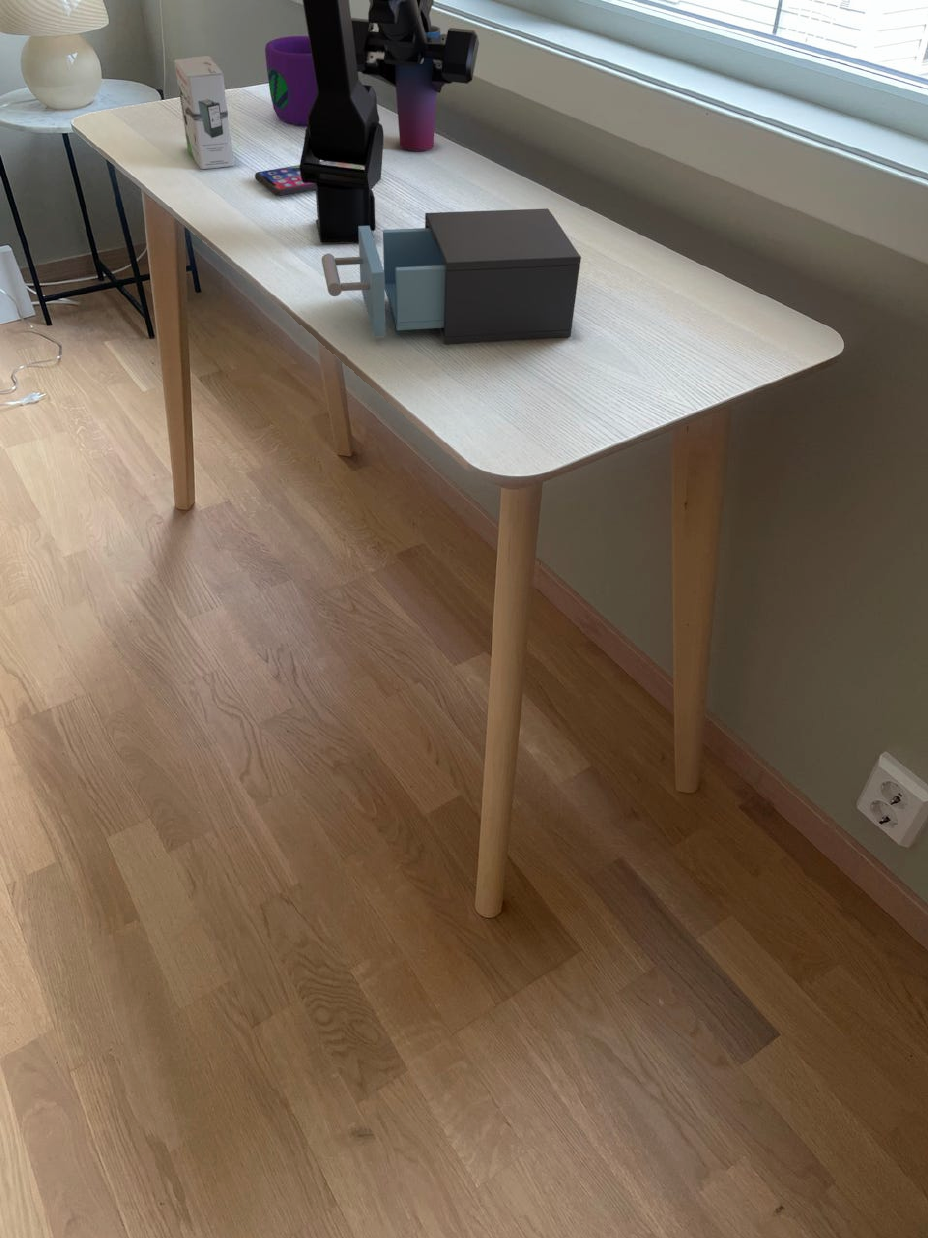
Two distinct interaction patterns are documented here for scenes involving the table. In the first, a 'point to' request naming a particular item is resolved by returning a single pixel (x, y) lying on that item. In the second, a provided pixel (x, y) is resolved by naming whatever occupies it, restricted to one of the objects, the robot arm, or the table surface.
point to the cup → (416, 102)
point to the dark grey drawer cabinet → (505, 275)
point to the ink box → (204, 112)
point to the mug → (291, 78)
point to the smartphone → (292, 179)
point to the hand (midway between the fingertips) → (418, 86)
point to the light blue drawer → (396, 278)
